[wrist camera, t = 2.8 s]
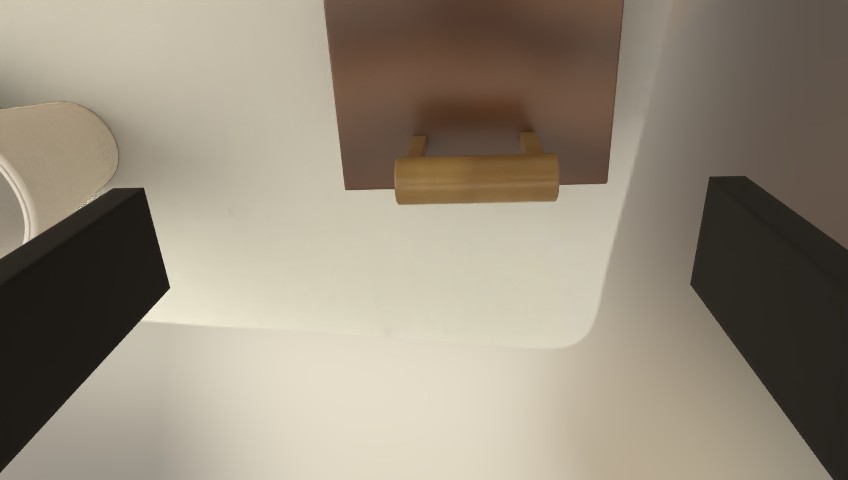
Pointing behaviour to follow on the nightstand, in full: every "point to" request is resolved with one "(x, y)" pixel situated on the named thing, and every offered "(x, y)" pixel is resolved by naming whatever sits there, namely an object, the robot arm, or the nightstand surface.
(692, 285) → the robot arm
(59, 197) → the dixie cup
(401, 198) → the lid
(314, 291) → the nightstand surface
